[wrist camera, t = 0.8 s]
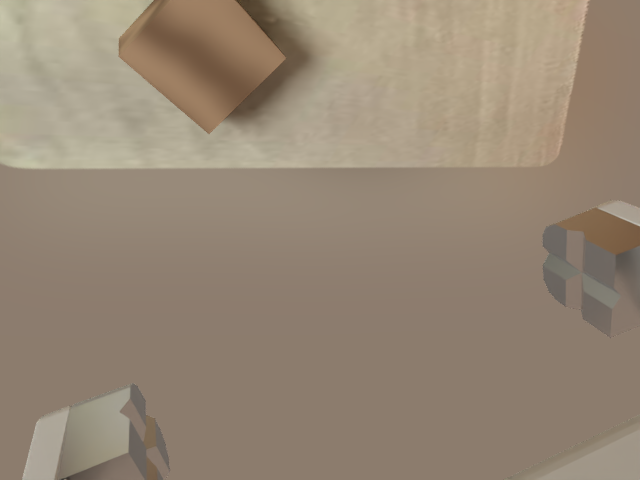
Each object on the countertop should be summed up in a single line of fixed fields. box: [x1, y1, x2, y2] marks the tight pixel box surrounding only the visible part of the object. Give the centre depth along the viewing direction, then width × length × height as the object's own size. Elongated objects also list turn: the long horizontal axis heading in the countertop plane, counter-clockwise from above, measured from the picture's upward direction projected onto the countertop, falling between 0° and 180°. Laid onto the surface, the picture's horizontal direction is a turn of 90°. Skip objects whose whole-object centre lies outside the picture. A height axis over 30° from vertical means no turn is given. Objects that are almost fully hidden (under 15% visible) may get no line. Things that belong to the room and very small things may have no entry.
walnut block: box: [119, 0, 286, 134], centre depth 41 cm, size 9×9×5 cm
